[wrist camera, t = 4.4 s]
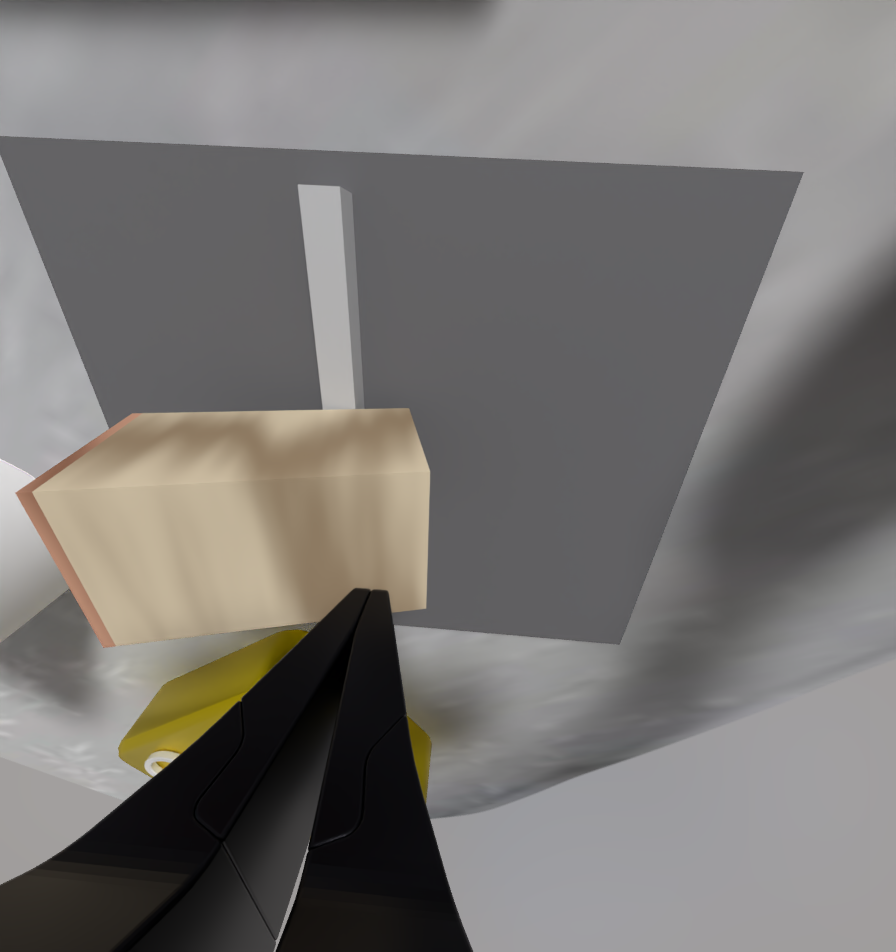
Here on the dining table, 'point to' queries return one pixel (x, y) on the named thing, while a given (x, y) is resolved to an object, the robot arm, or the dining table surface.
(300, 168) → the mat
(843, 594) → the dining table surface
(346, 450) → the beech block
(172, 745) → the element tile
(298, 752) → the robot arm
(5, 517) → the cylinder with rectangular tab
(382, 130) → the dining table surface
